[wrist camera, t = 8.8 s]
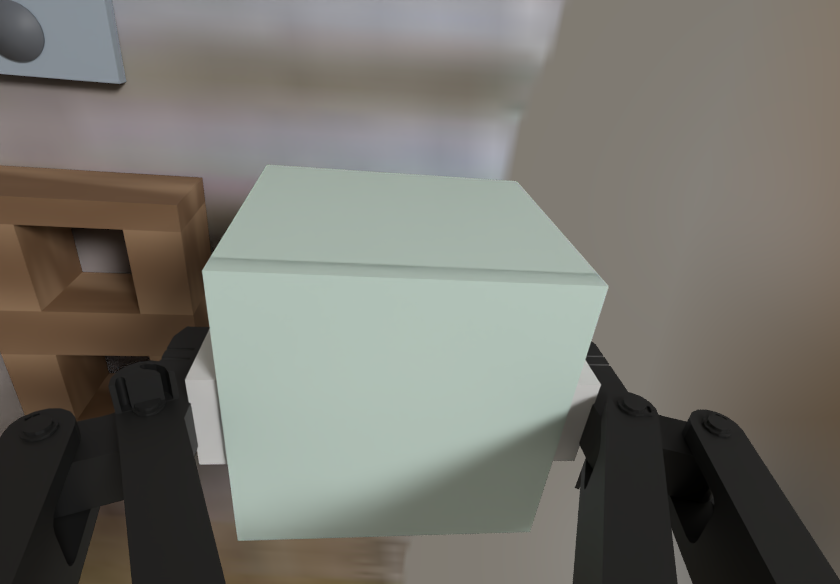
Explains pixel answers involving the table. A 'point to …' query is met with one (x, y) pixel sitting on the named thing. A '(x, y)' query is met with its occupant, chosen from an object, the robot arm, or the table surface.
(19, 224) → the socket block
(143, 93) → the table surface
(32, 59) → the tile
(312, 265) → the cover
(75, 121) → the table surface
